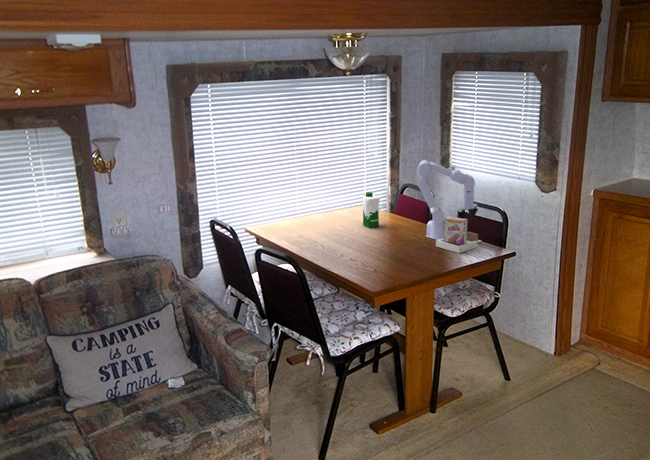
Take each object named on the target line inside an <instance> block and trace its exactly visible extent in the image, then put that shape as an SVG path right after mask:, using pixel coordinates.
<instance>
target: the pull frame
mask: <svg viewBox="0 0 650 460" xmlns="http://www.w3.org/2000/svg"><path fill="white" fill-rule="evenodd" d="M443 241H444V238H443V239H440V240H436V239H435V247H436V248H441V249H444V250H447V251H450V252H455V253H456V254H457V253H458V254H460V253H463V252H466V251H469V250H472V249H474V248H478V247H479V244H478V243H481V242H482V240H480V239H479V233H475V232H472V231H467V238H466V244H464V245H461V246H457V245H453V244H450V243H446V242H443Z"/></svg>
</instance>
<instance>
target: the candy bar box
mask: <svg viewBox="0 0 650 460" xmlns="http://www.w3.org/2000/svg"><path fill="white" fill-rule="evenodd" d="M468 221H469V218H465V219H462V218H460V217H453V216H446V217H444V241H443V242H446V243H450V244H453V245H457V246H461V245H464V244H466V238H467V232H468Z"/></svg>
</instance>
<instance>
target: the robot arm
mask: <svg viewBox="0 0 650 460" xmlns="http://www.w3.org/2000/svg"><path fill="white" fill-rule="evenodd" d="M435 172H436V173H439V174H442V175H445V176H447V177H449V179H450V180H451V181H452V182H455V183H458V184H460V185H463V191H462V205H461V206H460V207H458V208H457V211H456V212H457V213H456V214H457V215H458V218H462V219H467V217H466V216H467V215H468V221H470V222H474V220H475V216H476V214H477V212H478V211H479V209H478V204H477V203H474V201H475V200H474V197H475V186H476V182H475V179H474V177H473V176H472V175H471V174H467V173H466V174H465V173H463V172H461V170H459V169H458V170H456V169H455V170H451V169H448V168H446V167H444V166H442V165H440V164H437V163H435V162H433V161H429V160H428V159H427V160H426V159H423V160H420V162H419V163H418V166H417V170H416V175H415V183H416V185H417V186H418V188H419V190H420V192H421V194H422V196H423V198H424V200H425V202H426V204H427V206H428V208H429V210H430V213H431V215H432V219H431V220H429V221H428V222H427V224H426V235H425V237H426V238H430V239H433V240H435V241H436V240H440V239H443V238H444V221H445V212H444V210H443V209H441V208H440V206H439V204H438V203H437V200H436V199H435V197H434V195H433V193H432V191H431V188H430V187H429V186H428V183H427V180H426V178H427V175H428V174H429V173H435ZM467 211H468V212H467Z"/></svg>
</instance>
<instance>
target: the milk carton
mask: <svg viewBox="0 0 650 460" xmlns="http://www.w3.org/2000/svg"><path fill="white" fill-rule="evenodd" d="M380 199H381V197H380V196H378V195H374V194H373V192H371V191H367V192H365V195H363V196H362V203H363V205H362V206H363V207H362V209H363V210H362V216H363V218H362V226H363V225H364V227H366V228H368V229H373V228H377V226H379V227H380V219H379V211H380V210H379V208H380V207H379V206H380ZM372 227H373V228H372Z"/></svg>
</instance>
